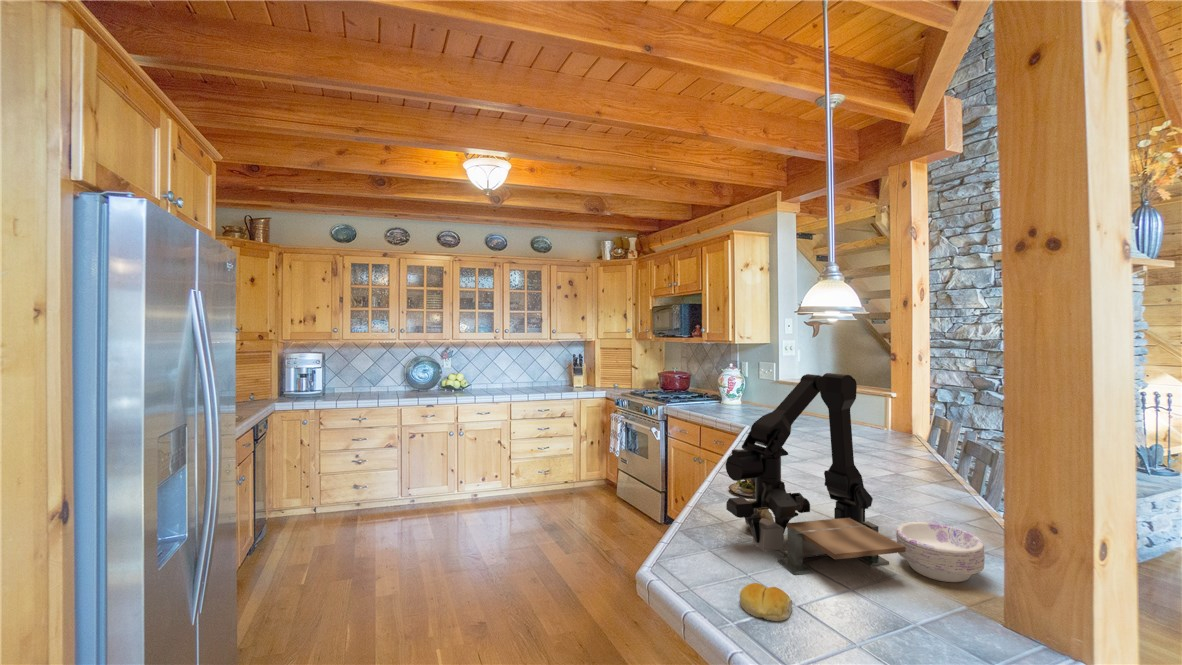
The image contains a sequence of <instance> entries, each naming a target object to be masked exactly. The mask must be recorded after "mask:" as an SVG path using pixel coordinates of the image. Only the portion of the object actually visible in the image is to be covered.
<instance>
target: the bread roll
mask: <svg viewBox="0 0 1182 665" xmlns="http://www.w3.org/2000/svg"><path fill="white" fill-rule="evenodd" d="M739 602H740V606H741V607H742V608H743V610H744V611H745V612H746V613H747V612H748V613H747V614H749V615H750V614H751V616H752V615H753V617H755V616H756V617H755V618H758V619H759V618H760V619H761V618H763V619H765V620H766V619H767V621H769V620H771V621H770V622H780V621H781V622H782V621H785V620H787V619H789V617H790V616H791V613H792V609H793V600H792V599H791V597H790V595H789V594H787V593H786V592H785V591H784V590H782V589H781V588H779V587H776V586H771V587H766V586H764V584H761V583H758V582H757V583H756V582H753V583H749V584H746V586H744V587H743V588H742V589H741V590H740V593H739Z"/></svg>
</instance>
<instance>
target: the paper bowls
mask: <svg viewBox="0 0 1182 665" xmlns="http://www.w3.org/2000/svg"><path fill="white" fill-rule="evenodd" d="M895 532H896V533H895V535H896V538H895V539H896V542H897V543H899V544H901V545H903V546H905V547H906V552H900V553H897V554H898V555H899V556H900V557H902V558H903V559H904V560H906V561H907V563H908V565H909V566H910V567H911V568H912V569H913V571H915V572H916V573H918V574H919V575H922V576H924V577H926V578H929V579H932V580H935V581H939V582H946V583H961V582H962V583H963V582H966V581H968V579H970V578H971V576H972V575H974V574H979V573H980V572H982V571H983V570H984V569H985V558H986V557H985V544H984V542H983V541H982V540H981V539H980V538H979V537H978V536H976V535H974V534H973V533H970V532H969V531H965V530H964V529H960V528H957V527H954V526H950V525H946V524H940V523H934V522H924V521H922V522H921V521H919V522H918V521H914V522H913V521H912V522H904V523H902V524H900V525H898V526H897V527H896V531H895Z"/></svg>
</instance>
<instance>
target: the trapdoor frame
mask: <svg viewBox="0 0 1182 665" xmlns="http://www.w3.org/2000/svg"><path fill="white" fill-rule="evenodd" d="M862 525H865V526H866V527H868V528H870V529H872V530H874V531H876V532H878V533H879V526H878V524H877V525H876V524H875V523H872V522H870V521H867V520H865V522H862ZM786 529H787V531H786V533H787V536H786V539H787V542H786V544H787V547H786V548H787V550H786V551H783V557H784V558H779V559H778V558H777V563H778V564H779V565H780V566H782V567H784V569H786V570H787V571H788V572H789V573H791V574H792V575H794V576H797V575H805V574H813V573H814V570H813V569H812V567H811V568H810V567H809V565H807V564H805V563H804V562H803V558H804V559H805V558H813V557H815V558H816V557H824V556H829V555H828V554H822V555H812V556H803V557H802V548H803V533H801V532H799V531H798V530H796V529H795V528H786ZM856 558H858V559H859V560H860V561H862V562H864V563H866V564H867V565H869V566H870V567H879V566H887V565H890V561H889V560H887V559H885V558H883V557H882V556H880V555H872V556H862V557H856Z"/></svg>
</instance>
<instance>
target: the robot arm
mask: <svg viewBox="0 0 1182 665" xmlns="http://www.w3.org/2000/svg"><path fill="white" fill-rule="evenodd" d="M857 386H858V384H857V381H856V379H855V378H854V377H853V376H852V375H850V374H843V373H841V374H840V373H833V372H832V373H831V372H826V373H824V374H823V375H820V374H811V373H810V374H809V373H807V374H804V375H802V376H801V378H800V381H799V382H798V383H797V384H796V386H795V387H794V388H793V389H792V390H791V391H790V392H789V393H788V394H787V396H786V397H785V398H784V399H783V400H782V401H781V402H780V404H778V406H776V408H775V409H774V410H772V411H771V412H768V413H766V414H764V415H762V416H760V418H758V419H756V421H754V422H753V424H752V425H751V427H750V431H749V432H748V434H747V436H746V438H745V440H743V441H744V442H743V443H742V445H741V449H737V448H735V449H732V450H731V455H729V456H728V457H727V459H726V462H725V469H726V473H727V476H728V477H729V478H730V479H731V480H732V481H735V482H737V481H739V480H741V481H745V479H752V478H753V481H754V482H755V494H753V496H752V499H753V500H755V501H753V502H749V501H747V500H748V499H746V498H744V497H742V496H739V497H730V498H728V499H727V501H726V506H725V507H726V510H727V511H728V512H729V513H731V514H732V515H733V516H735V517H736V518H740V519H741V518H744V520H745V519H746V521H747V523H748V527H749V530H750V532H751V534H752V535H751V536H752V538H753V537H754V540H755V542H757V543H759V522H760V520H761V517H760V516H759V515H758V510H763V509H769V511H771V513H772V515H773V516H774V522H776V523H777V524H778V525H780V526H781V527H783V528H784V533H785V531H786V529H787V523H790V521H791V520H792V519H793V518H795V517H798V515H799V513H800V514H801V513H811V503H810V501H809V500H808V499H807V498H806V497H804V496H803V494H802V493H800V492H787V491H786V485H785V482H784V481H782V457H784V456H785V457H786V456H789V452H788V451H787V450H786V449H784V447H783V446H784V445H785V444H786V442H787V441H788V438H789V437H790V435H791V434H792V433H791V432H792V426H793V423H795V421H796V420H797V419H798V417H799V416H800V415H801V414H802V413H803V412H804V411H805V409H806V408H808V406H809V405H810V404H811V402H812V401H813V400H814V399H815V398H816V396H818V395H819V394H820V397H821V400H822V402H823V403H824V405H825V406H826V407H827V409H828V410H827V411H828V419H829V420H828V421H829V422H828V424H829V435H830V447H831V460H832V462H831V465H830V467H828V468H829V469H827V470H824V473H823V474H824V486H825V487H826V490H827V492H828V494H829V495H828V496H829V498H830V500H834V501H835V507H834V510H833V512H834V518H833V519H840V518H851V519H853V520H855V521H857V522H858V523H860V524H862V522H866V510H869V508H870V507H872V503H873V499H874V498H873V497H872V496H871V494H870V493H869V492H868V490H867V489H866V488H865V487H864V485H865V484H864V481H863V476H862V474H861V473H860V471H859V470H858V468H857V466H856V465H855V459H854V447H853V446H854V443H853V432H852V419H851V416H852V415H851V408H852V406H853V405H854V403H855V402H856V400H857V391H858V390H857V388H858V387H857Z"/></svg>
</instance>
